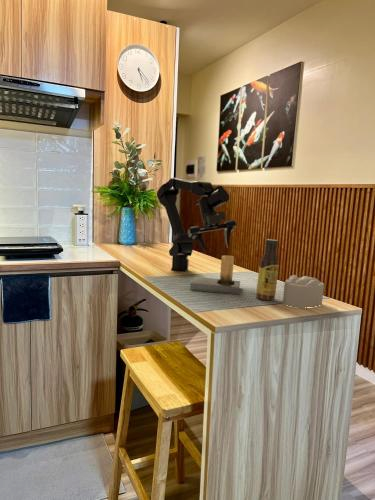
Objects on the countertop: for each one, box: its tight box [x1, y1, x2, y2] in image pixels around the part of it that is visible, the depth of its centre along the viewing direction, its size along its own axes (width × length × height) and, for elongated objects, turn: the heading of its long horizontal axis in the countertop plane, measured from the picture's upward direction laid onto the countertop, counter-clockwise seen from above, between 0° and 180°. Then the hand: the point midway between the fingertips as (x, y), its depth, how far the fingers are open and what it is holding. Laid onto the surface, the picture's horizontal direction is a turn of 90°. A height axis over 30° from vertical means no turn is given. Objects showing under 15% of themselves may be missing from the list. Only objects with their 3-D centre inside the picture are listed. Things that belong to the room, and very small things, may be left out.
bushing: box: [219, 254, 235, 285], centre depth 132 cm, size 4×4×12 cm
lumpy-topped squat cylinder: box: [282, 274, 325, 309], centre depth 120 cm, size 10×13×9 cm
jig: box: [189, 276, 241, 295], centre depth 133 cm, size 17×10×2 cm, turn 80°
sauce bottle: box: [255, 238, 280, 301], centre depth 123 cm, size 6×6×20 cm
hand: (216, 249), depth 143 cm, fingers open, 9 cm apart
